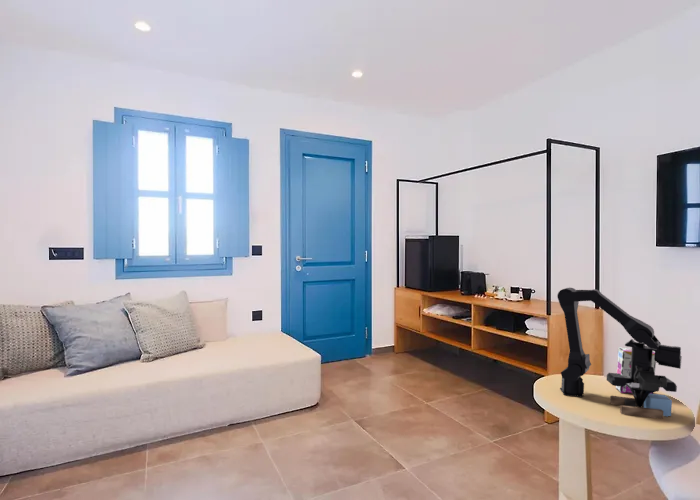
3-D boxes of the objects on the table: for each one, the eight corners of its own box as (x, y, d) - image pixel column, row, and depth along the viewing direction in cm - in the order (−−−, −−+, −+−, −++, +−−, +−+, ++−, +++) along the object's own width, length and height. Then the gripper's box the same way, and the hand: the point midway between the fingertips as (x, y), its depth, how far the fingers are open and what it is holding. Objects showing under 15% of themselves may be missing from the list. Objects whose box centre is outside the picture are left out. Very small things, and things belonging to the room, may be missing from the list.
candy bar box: (620, 393, 150) (622, 350, 149) (615, 388, 155) (617, 347, 154) (654, 396, 147) (657, 353, 147) (647, 391, 152) (650, 349, 152)
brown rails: (621, 413, 132) (621, 406, 132) (610, 402, 141) (610, 395, 141) (663, 418, 129) (663, 411, 129) (648, 406, 138) (649, 399, 138)
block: (650, 414, 132) (650, 398, 132) (643, 408, 137) (644, 393, 136) (671, 416, 131) (671, 400, 131) (663, 411, 135) (664, 395, 135)
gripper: (620, 366, 129) (617, 413, 129) (687, 372, 124) (685, 421, 125) (606, 356, 139) (604, 399, 140) (668, 361, 135) (666, 406, 136)
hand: (639, 406), depth 135 cm, fingers closed
